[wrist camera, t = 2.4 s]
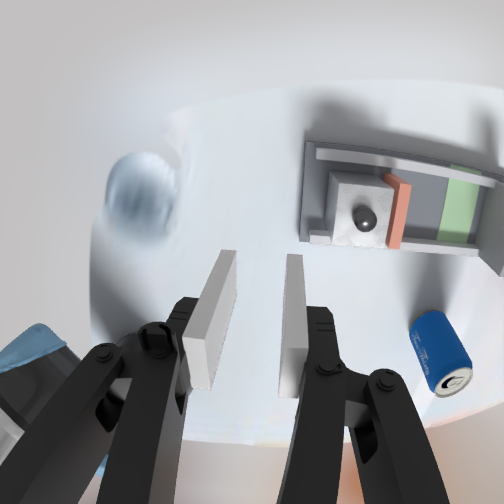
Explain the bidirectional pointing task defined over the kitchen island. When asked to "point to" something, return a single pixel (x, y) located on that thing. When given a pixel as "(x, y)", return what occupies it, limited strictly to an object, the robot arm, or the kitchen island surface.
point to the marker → (397, 209)
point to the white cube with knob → (357, 209)
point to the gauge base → (415, 201)
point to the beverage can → (440, 354)
